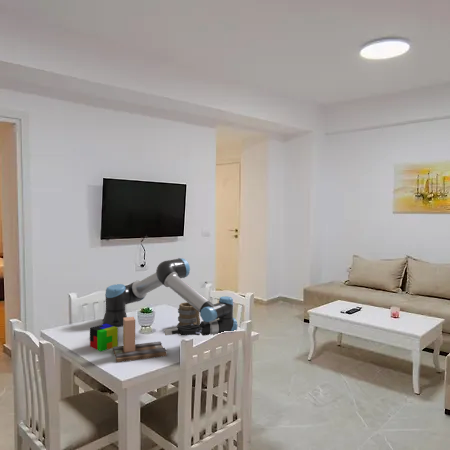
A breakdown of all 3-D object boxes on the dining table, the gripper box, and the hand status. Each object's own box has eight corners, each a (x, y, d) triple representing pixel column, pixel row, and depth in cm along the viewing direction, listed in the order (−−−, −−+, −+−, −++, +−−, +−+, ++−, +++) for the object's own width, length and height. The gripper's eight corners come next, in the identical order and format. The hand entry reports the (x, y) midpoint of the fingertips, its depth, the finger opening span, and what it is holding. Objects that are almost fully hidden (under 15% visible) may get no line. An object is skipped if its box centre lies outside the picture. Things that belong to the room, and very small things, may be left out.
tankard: (173, 326, 250) (173, 301, 249) (191, 322, 257) (191, 299, 256) (191, 335, 234) (191, 309, 233) (209, 331, 241) (209, 306, 240)
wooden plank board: (159, 345, 217) (159, 340, 217) (166, 355, 203) (166, 350, 202) (112, 350, 209) (112, 345, 208) (116, 362, 194) (116, 357, 194)
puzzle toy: (106, 341, 221) (106, 323, 221) (117, 346, 215) (117, 327, 214) (89, 346, 214) (89, 327, 213) (101, 351, 207) (101, 332, 207)
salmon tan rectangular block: (133, 348, 207) (133, 316, 206) (135, 352, 202) (135, 319, 201) (123, 349, 205) (123, 317, 204) (124, 353, 200) (124, 320, 199)
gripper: (212, 338, 213) (168, 343, 204) (204, 330, 225) (162, 335, 216) (213, 324, 212) (168, 329, 204) (204, 317, 224) (162, 321, 216)
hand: (165, 332), depth 210 cm, fingers closed
